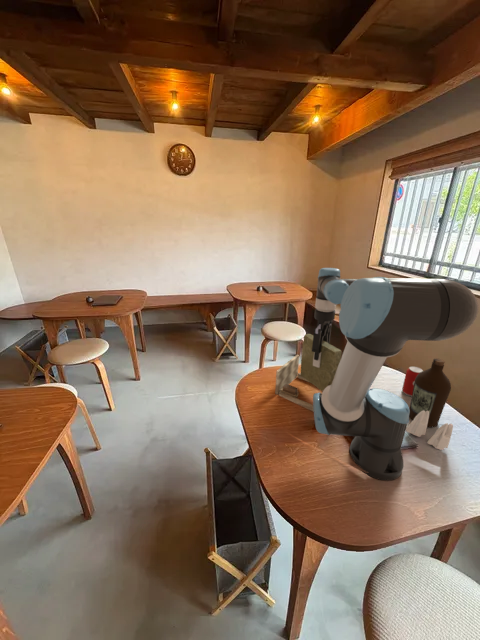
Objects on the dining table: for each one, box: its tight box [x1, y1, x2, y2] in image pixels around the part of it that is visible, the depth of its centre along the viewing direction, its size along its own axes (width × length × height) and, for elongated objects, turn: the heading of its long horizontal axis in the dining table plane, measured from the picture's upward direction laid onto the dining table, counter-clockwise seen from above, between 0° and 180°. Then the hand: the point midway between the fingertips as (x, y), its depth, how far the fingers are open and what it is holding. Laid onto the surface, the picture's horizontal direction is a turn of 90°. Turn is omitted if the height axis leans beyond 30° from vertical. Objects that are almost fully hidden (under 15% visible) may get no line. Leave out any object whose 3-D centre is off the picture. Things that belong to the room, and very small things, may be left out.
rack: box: [274, 354, 314, 413], centre depth 112 cm, size 19×27×12 cm
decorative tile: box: [300, 333, 342, 392], centre depth 109 cm, size 19×6×20 cm, turn 30°
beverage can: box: [401, 366, 424, 398], centre depth 114 cm, size 6×6×12 cm
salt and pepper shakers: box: [405, 410, 454, 451], centre depth 89 cm, size 12×4×11 cm, turn 45°
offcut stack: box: [280, 384, 299, 398], centre depth 114 cm, size 3×7×4 cm, turn 52°
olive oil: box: [409, 357, 452, 428], centre depth 96 cm, size 11×11×25 cm
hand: (319, 363), depth 109 cm, fingers open, 5 cm apart
